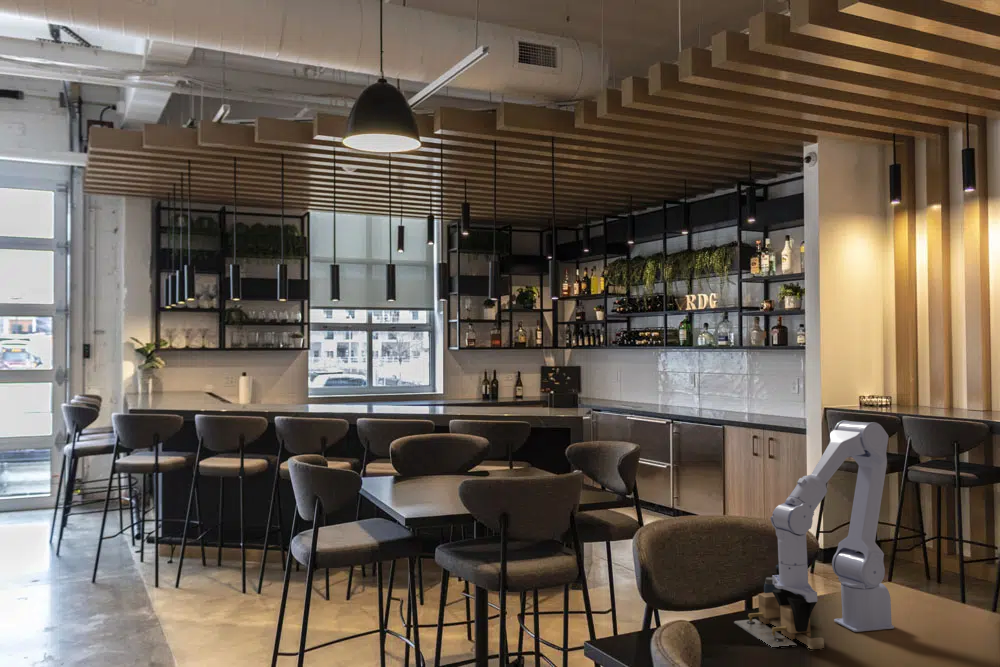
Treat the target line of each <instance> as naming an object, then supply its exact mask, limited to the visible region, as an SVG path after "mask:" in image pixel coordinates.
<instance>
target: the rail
mask: <svg viewBox="0 0 1000 667" xmlns="http://www.w3.org/2000/svg"><path fill="white" fill-rule="evenodd" d="M768 619H769V623H770V624H772V625H774V626H776V627H781V621H779V620H777V619H776V618H768ZM770 624H769V625H770ZM772 625H771V626H772ZM774 626H773V627H774ZM794 634H795V638H796V639H797V640H799V641H800V642H802V643H804V644H806V645H807V646H808V647H807V646H806V647H807V649H808V648H810V649H817V648H824V649H825V639H824V638H823V637H822V636H821V637H820V636H819V637H811V638H808V637H807V636H805V635H803V634H802V633H794ZM797 640H796V641H797ZM800 642H799V643H800ZM802 643H801V644H802Z"/></svg>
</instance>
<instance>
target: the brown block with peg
mask: <svg viewBox="0 0 1000 667" xmlns="http://www.w3.org/2000/svg"><path fill="white" fill-rule="evenodd" d="M780 613H781V627H774V626H772V627H771V629H772V635H773V636H775V631H776V632H779V631H780V632H781V633H780V634H781V635H782V634H783V635H782V636H784V637H785V636H786V638H787V637H788V638H789V640H790V639H791V641H794V640H793V639H795V634H794V633H802V634H803V635H805V636H807V637H808V638H812V634H811V618H810V619H809V623H808V628H807V631H805V632H797V631H796V629H795V624H794V617H793V612H792V608H791V606H790V605H782V606H780ZM788 638H787V639H788Z"/></svg>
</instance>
